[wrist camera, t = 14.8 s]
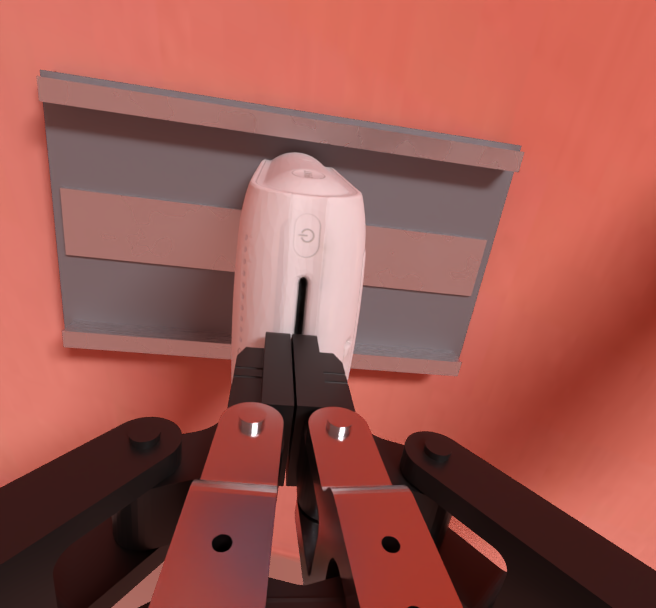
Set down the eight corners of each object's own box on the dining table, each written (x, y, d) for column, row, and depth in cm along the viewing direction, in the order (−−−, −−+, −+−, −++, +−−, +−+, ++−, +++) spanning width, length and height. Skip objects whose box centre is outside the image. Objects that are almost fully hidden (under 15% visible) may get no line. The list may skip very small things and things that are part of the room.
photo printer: (256, 144, 22) (227, 173, 11) (339, 154, 22) (397, 191, 11) (246, 327, 26) (218, 491, 14) (317, 332, 26) (344, 493, 15)
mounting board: (512, 144, 24) (521, 145, 23) (450, 361, 30) (455, 369, 29) (50, 71, 21) (40, 69, 20) (73, 331, 26) (65, 339, 25)
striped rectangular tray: (511, 150, 23) (524, 152, 22) (449, 364, 28) (457, 376, 27) (52, 78, 20) (36, 76, 19) (74, 335, 25) (63, 347, 24)
